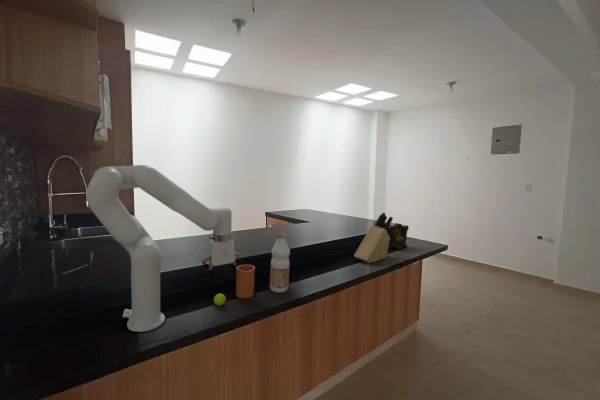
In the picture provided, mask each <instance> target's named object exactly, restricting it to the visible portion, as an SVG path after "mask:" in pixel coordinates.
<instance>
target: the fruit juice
mask: <svg viewBox="0 0 600 400" xmlns="http://www.w3.org/2000/svg"><path fill="white" fill-rule="evenodd" d="M287 236H288V235H287V233H283V232H280V233H277V234H276V240H275V243H274V245H273V247H272V249H271V260H270V269H269V270H270V271H269V274H270V275H269V290H270V291H272V292H274V293H285V292H287V291H288V290H289V285H290V284H289V283H290V282H289V281H290V265H291V262H290V255H291V250H290V249H291V248H289V244H288V242H287Z"/></svg>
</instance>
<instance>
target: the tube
mask: <svg viewBox="0 0 600 400" xmlns="http://www.w3.org/2000/svg"><path fill="white" fill-rule="evenodd" d="M235 273H236V274H235V296H236V297H237V298H239V299H249V298H252V297H253V296H254V295H255V281H256V280H255V278H256V267H255V266H254V265H252V264H241V265H237V266H236V268H235Z"/></svg>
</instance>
